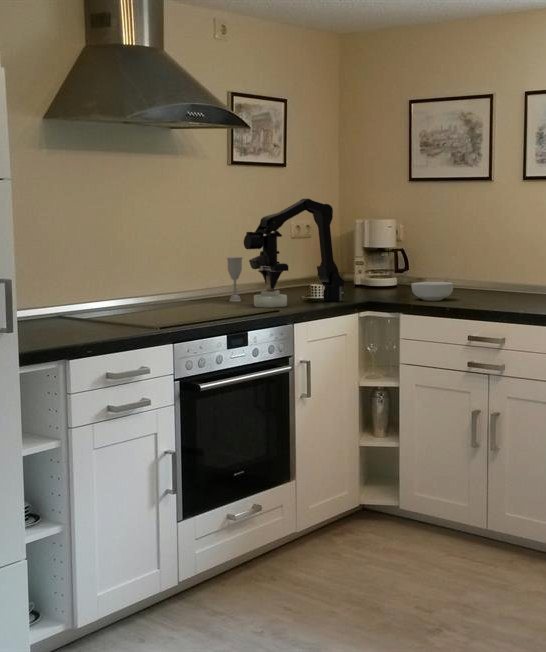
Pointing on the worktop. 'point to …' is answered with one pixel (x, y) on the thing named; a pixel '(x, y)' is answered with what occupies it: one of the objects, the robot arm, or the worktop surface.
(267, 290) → the dowel
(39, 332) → the worktop surface
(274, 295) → the disc with square recess
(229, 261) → the chalice
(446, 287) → the cereal bowl
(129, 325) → the worktop surface
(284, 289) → the worktop surface
